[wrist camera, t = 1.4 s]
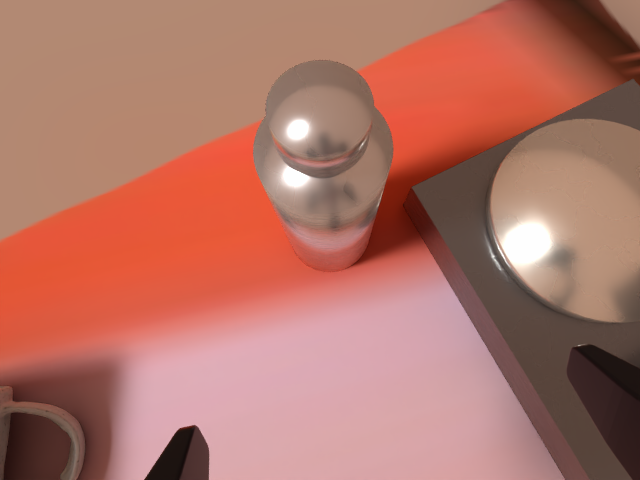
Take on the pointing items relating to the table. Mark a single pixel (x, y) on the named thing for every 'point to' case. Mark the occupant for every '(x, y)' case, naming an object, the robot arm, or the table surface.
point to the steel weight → (324, 161)
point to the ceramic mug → (3, 406)
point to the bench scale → (548, 259)
